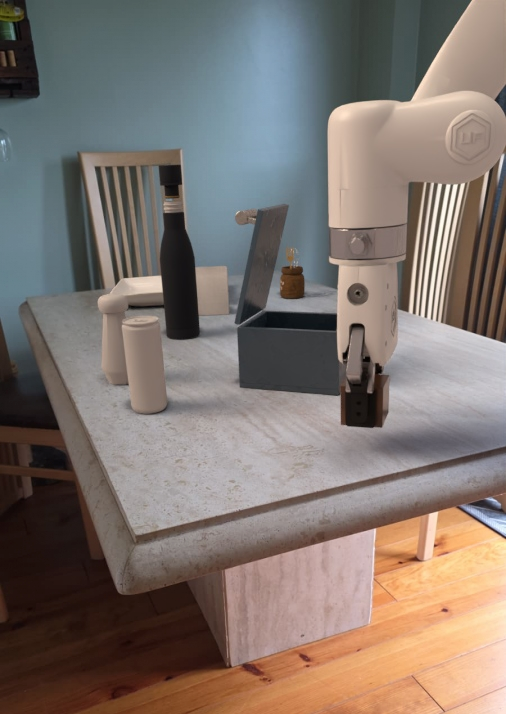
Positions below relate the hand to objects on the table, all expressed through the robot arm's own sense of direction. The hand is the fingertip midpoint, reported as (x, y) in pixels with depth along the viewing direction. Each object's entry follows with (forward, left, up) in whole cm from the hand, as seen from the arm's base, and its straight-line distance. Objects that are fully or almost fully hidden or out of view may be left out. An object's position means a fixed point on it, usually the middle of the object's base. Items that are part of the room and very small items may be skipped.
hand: (365, 415), depth 69 cm
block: (0, 0, 0) cm, 0 cm away
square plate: (+63, -78, -4) cm, 100 cm away
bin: (+14, -22, -4) cm, 26 cm away
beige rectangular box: (+45, -63, -4) cm, 77 cm away
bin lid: (+19, -22, +13) cm, 31 cm away
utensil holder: (+33, -84, -4) cm, 90 cm away
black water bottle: (+43, -43, -4) cm, 61 cm away
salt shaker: (+40, -15, -4) cm, 43 cm away
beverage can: (+30, -5, -4) cm, 30 cm away
